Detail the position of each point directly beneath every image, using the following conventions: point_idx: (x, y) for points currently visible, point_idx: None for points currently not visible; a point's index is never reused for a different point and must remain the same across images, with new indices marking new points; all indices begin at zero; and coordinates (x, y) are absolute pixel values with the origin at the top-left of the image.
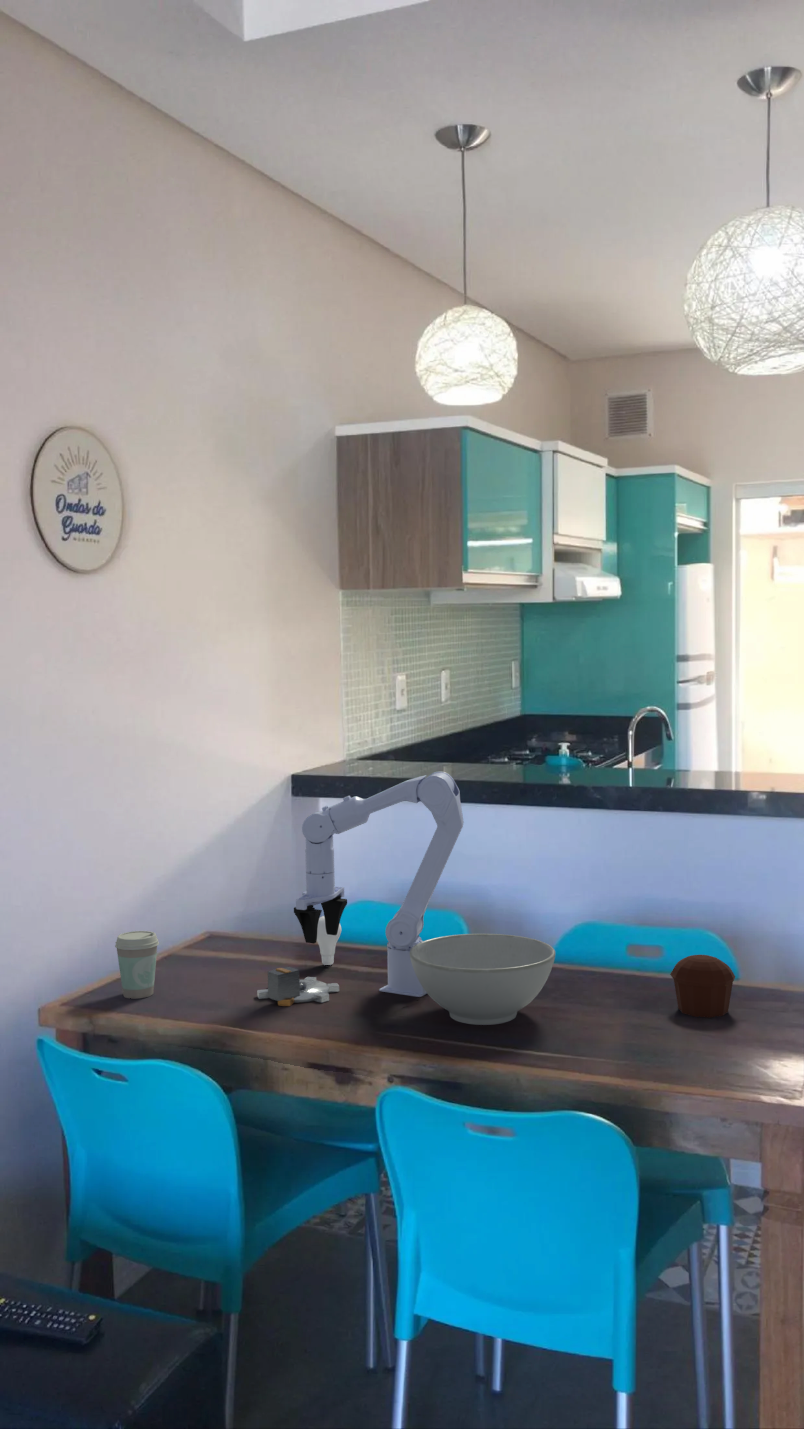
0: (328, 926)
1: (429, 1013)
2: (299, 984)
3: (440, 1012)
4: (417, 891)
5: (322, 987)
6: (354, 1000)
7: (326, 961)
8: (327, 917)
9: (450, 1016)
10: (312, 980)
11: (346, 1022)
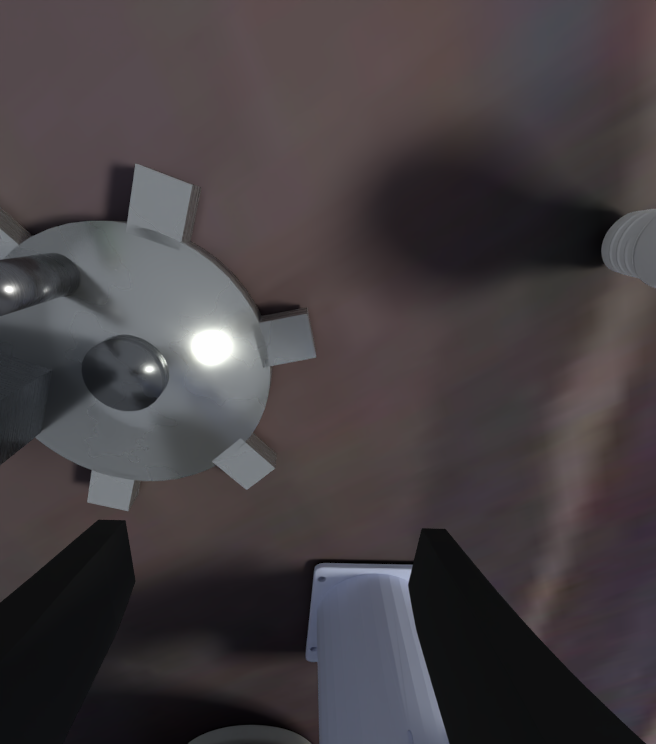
0: (446, 603)
1: (203, 701)
2: (4, 461)
3: (222, 712)
4: None
5: (192, 451)
6: (204, 540)
7: (611, 253)
8: (494, 704)
9: (200, 736)
10: (263, 367)
11: None
